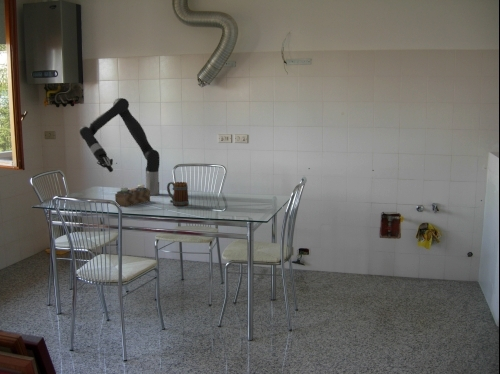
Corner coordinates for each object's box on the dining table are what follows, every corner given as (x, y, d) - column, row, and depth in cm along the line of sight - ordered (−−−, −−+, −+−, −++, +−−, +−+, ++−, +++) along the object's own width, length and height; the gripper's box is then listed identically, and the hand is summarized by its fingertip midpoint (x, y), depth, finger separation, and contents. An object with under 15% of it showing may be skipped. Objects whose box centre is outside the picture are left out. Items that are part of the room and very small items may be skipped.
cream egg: (140, 187, 342) (140, 184, 342) (146, 187, 340) (146, 185, 340) (136, 188, 338) (136, 185, 338) (141, 188, 336) (141, 185, 336)
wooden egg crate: (140, 199, 346) (140, 186, 345) (150, 201, 342) (149, 188, 340) (115, 205, 325) (115, 191, 324) (125, 206, 321) (124, 193, 320)
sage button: (124, 190, 328) (124, 187, 328) (129, 191, 326) (129, 188, 326) (119, 191, 325) (119, 188, 324) (124, 192, 322) (124, 189, 322)
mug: (191, 204, 333) (191, 182, 331) (183, 207, 323) (183, 184, 321) (172, 202, 339) (172, 180, 337) (163, 204, 330) (163, 182, 327)
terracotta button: (132, 191, 336) (132, 188, 335) (138, 191, 333) (137, 189, 333) (128, 192, 332) (127, 189, 331) (133, 192, 329) (133, 189, 329)
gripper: (93, 148, 325) (107, 168, 321) (108, 147, 337) (121, 166, 333) (87, 155, 329) (101, 175, 325) (103, 154, 340) (116, 173, 336)
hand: (111, 171), depth 329 cm, fingers closed
